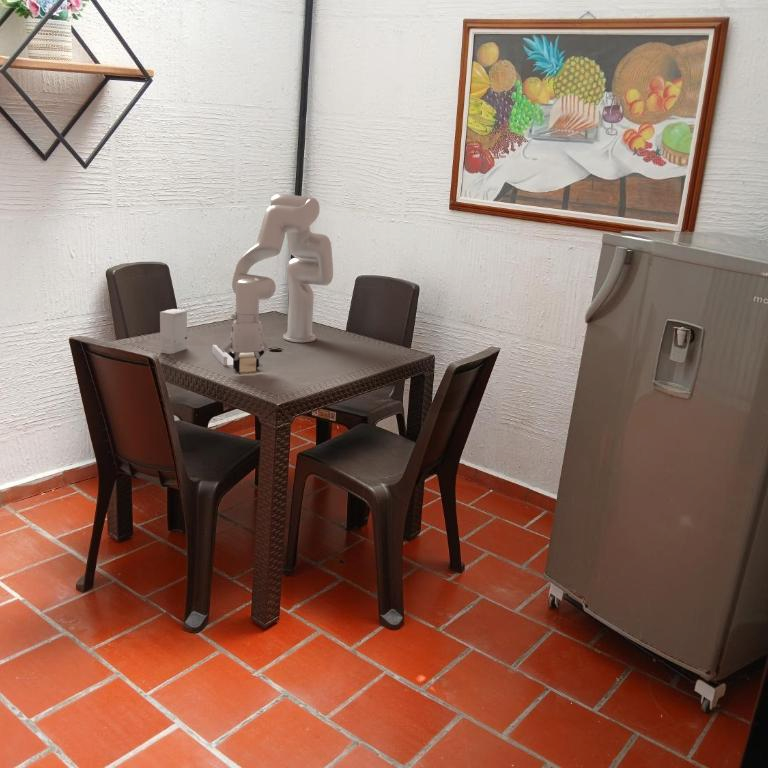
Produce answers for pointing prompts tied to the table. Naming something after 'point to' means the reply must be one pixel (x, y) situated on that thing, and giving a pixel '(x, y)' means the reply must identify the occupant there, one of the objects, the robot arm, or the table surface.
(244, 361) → the birch block
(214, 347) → the u-shaped channel
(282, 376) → the table surface
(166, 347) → the skincare box
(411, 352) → the table surface
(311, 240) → the robot arm
